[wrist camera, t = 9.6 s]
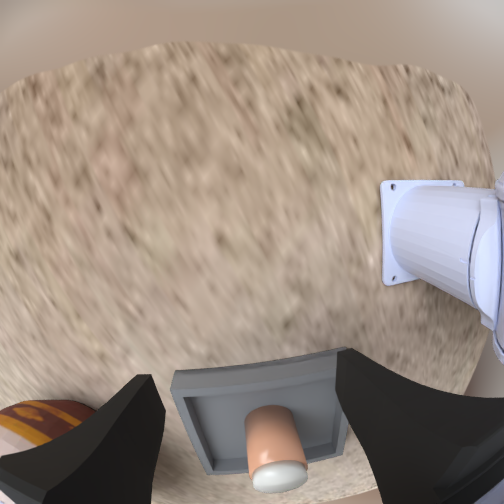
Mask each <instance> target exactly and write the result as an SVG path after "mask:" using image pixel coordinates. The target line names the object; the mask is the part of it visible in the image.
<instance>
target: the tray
mask: <svg viewBox="0 0 504 504" xmlns="http://www.w3.org/2000/svg"><path fill="white" fill-rule="evenodd" d="M342 350H346V347H342V348H337V349H333V350H328V351H324V352H319V353H314V354H309V355H303V356H298V357H292V358H286V359H280V360H274V361H267V362H261V363H253V364H245V365H237V366H228V367H218V368H207V369H193V370H176V371H175V373H174V376H173V380H172V384H171V387H170V391H171V394H172V397H173V399H174V402H175V404H176V407H177V410H178V412H179V414H180V417H181V419H182V422H183V424H184V427H185V429H186V431H187V433H188V436H189V438H190V440H191V442H192V445H193V447H194V449H195V451H196V453H197V455H198V457H199V460H200V462H201V464H202V466H203V468H204V470H205V472H206V474H207V475H224V474H240V473H249V467H248V457H247V447H246V436H245V425H244V421H245V418H246V416H247V415H248V414H249V413H250V412H251V411H253V410H255V409H257V408H259V407H262V406H267V405H279V406H283V407H286V408H287V409H289V410H290V411H291V412H292V414H293V417H294V421H295V424H296V427H297V431H298V434H299V438H300V441H301V445H302V448H303V452H304V455H305V458H306V462H307V464H308V463H312V462H317V461H321V460H325V459H329V458H333V457H337V456H340V455H342V454H343V450H344V445H345V440H346V435H347V429H348V424H349V422H348V420H347V418H346V416H345V414H344V412H343V410H342V408H341V405H340V403H339V400H338V397H337V394H336V392H335V381H336V365H337V352H338V351H342Z"/></svg>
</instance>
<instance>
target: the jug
mask: <svg viewBox="0 0 504 504" xmlns="http://www.w3.org/2000/svg"><path fill="white" fill-rule="evenodd" d="M95 412H96V411H94V410H93V409H91V408H89V407H87V406H85V405H83V404H81V403H78V402H75V401H71V400H29V401H23V402H20V403H17V404H15V405H12V406H9V407H6V408H4V409H2V410H1V411H0V457H1V456H2V455H8V454H12V453H17V452H21V451H25V450H28V449H31V448H34V447H37V446H39V445H42V444H44V443H47V442H49V441H51V440H53V439H55V438H57V437H59V436H61V435H63V434H65V433H66V432H68V431H70V430H71V429H73V428H74V427H76V426H78V425H79V424H80V423H82V422H83V421H85V420H86V419H87V418H89V417H90V416H91V415H92V414H94V413H95ZM0 500H1V501H2V502H4V503H5V504H16V503H14V502H13V501H12V500H11V499H10V498H9V497H7V496H6V495H5V494H4V493H3V492H2V491H1V490H0Z"/></svg>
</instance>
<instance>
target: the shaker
mask: <svg viewBox="0 0 504 504" xmlns="http://www.w3.org/2000/svg"><path fill="white" fill-rule="evenodd" d="M244 425H245V436H246V447H247V457H248V467H249V476H250V479H251V480H252V481H253V487H254V488H255V489H256V490H258V491H260V492H264V493H281V492H286V491H290V490H293V489H296V488H298V487H300V486H301V485H303V484H304V483H305V482H306V481H307V479H308V475H307V472H306V471H307V469H308V465H307V462H306V458H305V455H304V452H303V448H302V445H301V441H300V438H299V434H298V431H297V427H296V424H295V421H294V417H293V414H292V412H291V411H290V410H289V409H287V408H286V407H283V406H279V405H267V406H262V407H259V408H257V409H255V410H253V411H251V412H250V413H249V414H248V415H247V416H246V418H245V421H244Z"/></svg>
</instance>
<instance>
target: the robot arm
mask: <svg viewBox="0 0 504 504" xmlns="http://www.w3.org/2000/svg"><path fill="white" fill-rule="evenodd" d="M391 184H392V185H393V190H391ZM380 193H381V209H382V237H383V266H382V282H383V284H385V285H387V286H390V285H395V284H400V283H404V282H408V281H413V280H417V279H422V280H424V281H426V282H428V283H430V284H432V285H434V286H435V287H437V288H439V289H441V290H443V291H445V292H447V293H448V294H450V295H452V296H454V297H456V298H458V299H459V300H461V301H463V302H465V303H467V304H468V305H470V306H472V307H474V308H475V309H477V310H479V312H480V314H481V324H483V325H484V326H486V327H487V328H489V329H490V330H492V331H493V336H492V343H493V349H494V352H495V354H496V356H497V357H498V359H499V361H500V362H501V363H502V364H503V365H504V171H503V173H502V174H501V176H500V178H499V179H497V181H496V182H495V189H487V188H473V187H464V183H463V182H462V181H459V180H388V181H383V182H382V183H381V185H380ZM393 276H395V278H394V280H392V278H393ZM335 392H336V394H337V397H338V400H339V403H340V405H341V408H342V410H343V412H344V414H345V416H346V418H347V420H348V422H349V424H350V425H351V427H352V429H353V431H354V433H355V435H356V436H357V438H358V440H359V442H360V444H361V446H362V447H363V449H364V451H365V453H366V456H367V458H368V460H369V463H370V466H371V468H372V471H373V474H374V477H375V480H376V482H377V485H378V488H379V491H380V494H381V498H382V502H383V504H504V398H481V397H470V396H463V395H457V394H453V393H448V392H444V391H440V390H436V389H433V388H430V387H427V386H424V385H421V384H419V383H416V382H414V381H411V380H409V379H407V378H405V377H403V376H400V375H398V374H396V373H394V372H392V371H390V370H389V369H387V368H385V367H383V366H381V365H380V364H378V363H376V362H374V361H373V360H371V359H369V358H368V357H366V356H364V355H363V354H361V353H359V352H358V351H356V350H354V349H352V348H350V349H346V350H342V351H338V352H337V365H336V381H335ZM165 413H166V410H165V408H164V405H163V403H162V401H161V398H160V396H159V393H158V391H157V388H156V386H155V383H154V380H153V378H152V375H151V374H137V375H136V376H135V377H134V378H133V379H131V380H130V381H129V382H128V383H127V384H126V385H125V386H124V387H123V388H122V389H121V390H120V391H119V392H118V393H116V394H115V395H114V396H113V397H112V398H111V399H110V400H109V401H108V402H107V403H106V404H104V405H103V406H102V407H101V408H100V409H98V410H97V411H96V412H95V413H94V414H92V415H91V416H90V417H89V418H87V419H86V420H85V421H83V422H82V423H80V424H79V425H78V426H76V427H74V428H73V429H71V430H70V431H68V432H66V433H65V434H63V435H61V436H59V437H57V438H55V439H53V440H51V441H49V442H47V443H44V444H42V445H39V446H37V447H34V448H31V449H28V450H25V451H21V452H17V453H12V454H8V455H2V456H1V457H0V490H1V491H2V492H3V493H4V494H5V495H6V496H7V497H9V498H10V499H11V500H12V501H13V502H14V503H16V504H151V494H152V482H153V476H154V471H155V466H156V462H157V458H158V454H159V449H160V445H161V441H162V437H163V432H164V424H165ZM0 504H5V503H4V502H2V501H1V500H0Z"/></svg>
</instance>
